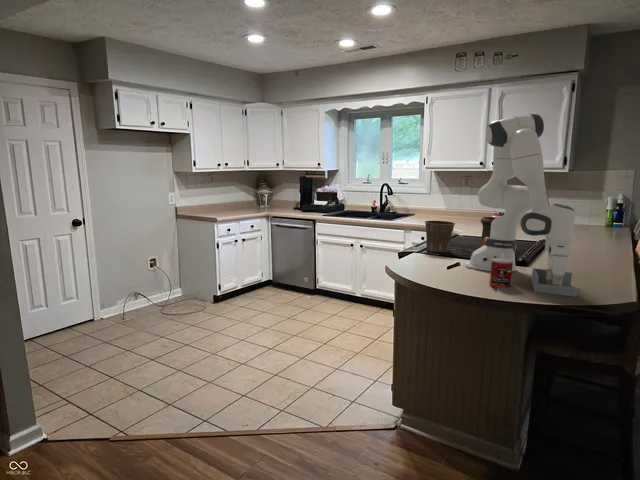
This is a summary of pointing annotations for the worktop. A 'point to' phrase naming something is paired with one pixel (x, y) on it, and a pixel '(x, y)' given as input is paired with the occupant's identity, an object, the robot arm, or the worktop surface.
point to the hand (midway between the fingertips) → (553, 281)
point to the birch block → (550, 276)
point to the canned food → (501, 272)
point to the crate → (540, 286)
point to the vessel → (486, 227)
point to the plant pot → (438, 235)
